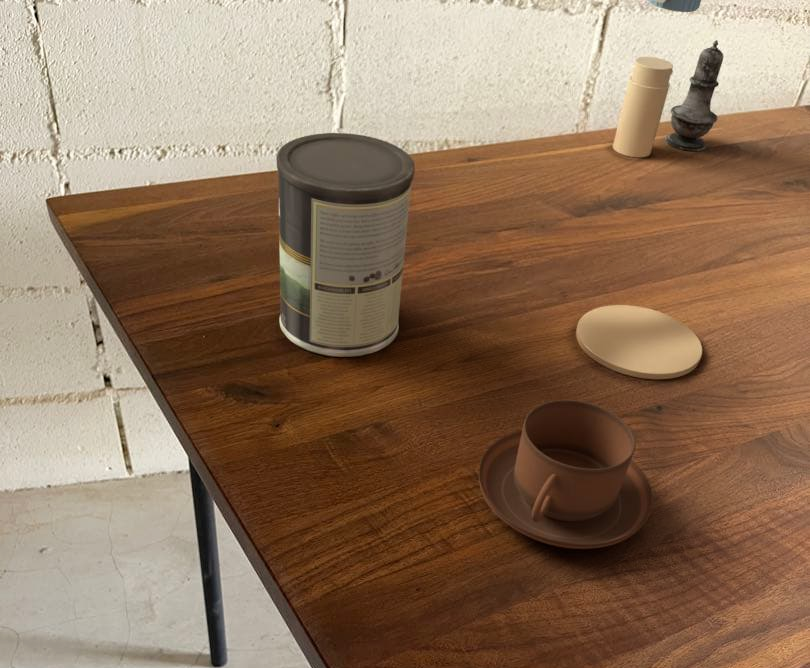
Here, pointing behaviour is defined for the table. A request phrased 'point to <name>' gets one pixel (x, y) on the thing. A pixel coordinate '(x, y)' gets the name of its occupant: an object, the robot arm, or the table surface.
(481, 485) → the cup and saucer
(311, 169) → the coffee can
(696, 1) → the lid
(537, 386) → the table surface
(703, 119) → the salt shaker
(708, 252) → the table surface
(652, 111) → the jar
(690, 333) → the coaster
